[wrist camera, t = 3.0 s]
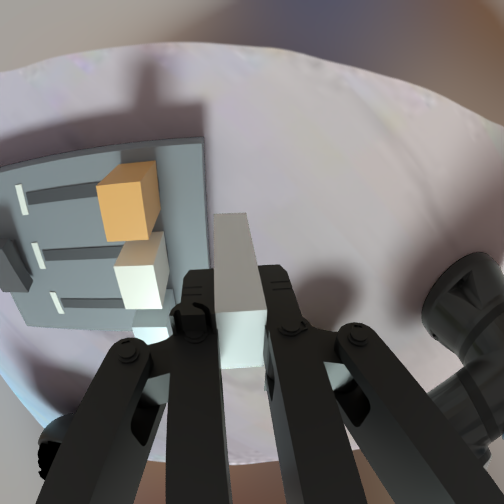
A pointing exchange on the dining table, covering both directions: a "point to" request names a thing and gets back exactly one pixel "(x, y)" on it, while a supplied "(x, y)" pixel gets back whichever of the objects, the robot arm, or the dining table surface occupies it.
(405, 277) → the dining table surface
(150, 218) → the slider orange
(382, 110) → the dining table surface
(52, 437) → the bowl of black rocks
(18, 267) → the block
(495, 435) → the robot arm
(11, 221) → the panel
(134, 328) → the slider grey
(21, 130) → the dining table surface
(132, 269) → the slider cream
